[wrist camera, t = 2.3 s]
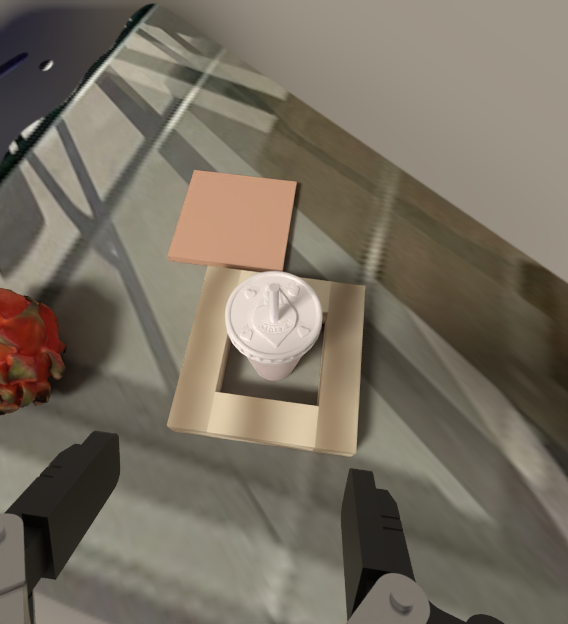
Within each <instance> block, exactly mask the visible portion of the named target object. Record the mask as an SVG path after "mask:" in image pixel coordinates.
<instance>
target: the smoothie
mask: <svg viewBox="0 0 568 624" xmlns="http://www.w3.org/2000/svg"><path fill="white" fill-rule="evenodd" d="M225 322H226V328H227V333H228V335H229V337H230V339H231V341H232V343H233V345H234V346H235V347H236V348H237V349H238V350H239V351H240V352H241V353H242V354H244V355H245V356H247V358H248V359H249V361H250V362H251V364H252V365H253V367H254V368H255V370H256V372H257V373H258V374H259V375H260V376H261V377H263V378H264V379H267V380H270V381H279V380H282V379H284V378H286V377H288V376H289V375H290V374H291V373H292V371H293V370H294V368H295V366H296V365H297V363H298V361H299V360H300V358H301V357H302V356H303V355H304V354H305V353H306V352H307V351H308V350H310V349H311V348H312V346H313V345H314V343H315V342H316V340H317V339H318V337H319V333H320V330H321V327H322V307H321V303H320V300H319V298H318V296H317V294H316V293H315V291H314V290H313V289H312V287H311V286H310V285H309V284H308V283H306V282H305V281H304V280H302V279H301V278H299V277H297V276H295V275H293V274H290V273H286V272H280V271H267V272H262V273H258V274H255V275H253V276H251V277H249V278H247V279H245V280H244V281H242V282H241V283H240V284H239V285H238V286H237V287H236V288H235V289H234V291H233V292H232V293H231V295H230V297H229V299H228V302H227V305H226V310H225Z"/></svg>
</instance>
